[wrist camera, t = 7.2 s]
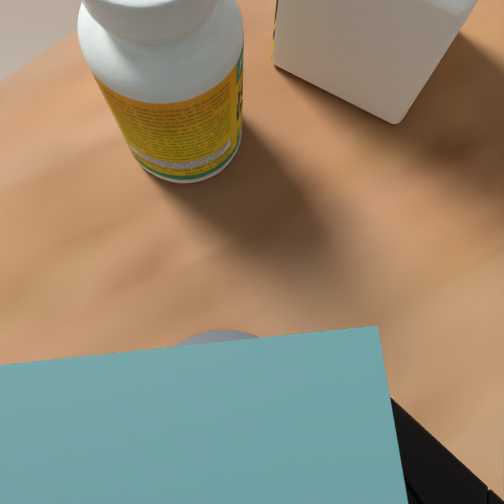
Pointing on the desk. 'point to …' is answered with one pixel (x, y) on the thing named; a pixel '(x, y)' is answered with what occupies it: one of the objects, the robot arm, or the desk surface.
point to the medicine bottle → (367, 47)
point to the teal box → (205, 425)
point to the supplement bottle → (170, 79)
